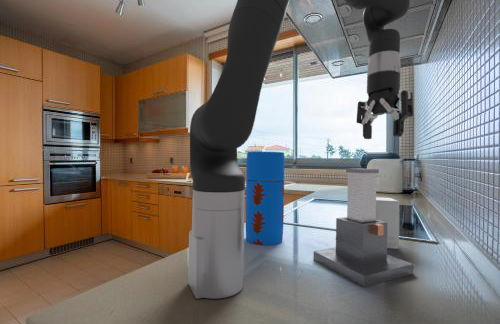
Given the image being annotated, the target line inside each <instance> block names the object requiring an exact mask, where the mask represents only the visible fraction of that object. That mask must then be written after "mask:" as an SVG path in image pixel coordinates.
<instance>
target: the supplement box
mask: <svg viewBox="0 0 500 324" xmlns="http://www.w3.org/2000/svg"><path fill="white" fill-rule="evenodd" d="M400 204H401V203H400V200H396V199H394V198H391V197H377V196H376V220H379V221H384V222H388V223H387V249H395V250H399V249H400Z"/></svg>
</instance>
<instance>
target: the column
mask: <svg viewBox="0 0 500 324" xmlns="http://www.w3.org/2000/svg"><path fill="white" fill-rule="evenodd" d="M345 173H347V200H346V201H347V206H346V207H347V208H346V210H347V215H346V217H347V220H350V221H353V222H357V223H361V224H367V223H375V222H376V197H377V174H379V173H380V172H379V168H378V169H377V168H346V169H345Z"/></svg>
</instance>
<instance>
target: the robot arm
mask: <svg viewBox="0 0 500 324" xmlns="http://www.w3.org/2000/svg"><path fill="white" fill-rule="evenodd" d="M290 1H291V0H237V1H236V4H235V6H234V10H233V13H232V14H231V15H232V16H231V18H230V21H229V22H230V23H229V26H228V30H227V31H228V32H227V45H226V46H227V47H226V48H227V49H226V50H227V51H226V57H225V63H224V65H223V69H222V72H221V74H220V77H219V79H218V81H217V84H215V85H216V86H215V88H214V89H213V91H212V93H211V96H210V97H209V99H208V100H207V101H205V103H204V102H203V104H201V106H199V107H198V108H197V109H196V110H195V111H194V112H193V114H192V116H191V120H190V126H189V167H190V168H189V169H190V174H191V179H192V211H191V212H192V213H191V215H192V217H191V220H192V221H191V222H192V223H191V230H188V231H189V232H188V269H187V272H188V274H187V275H188V277H187V283H188V285H189V287H190V289H191V291H192V293H193V295H194V297H195V299H203V298H204V299H214V300H215V299H225V298H229V297H233V296H235V295H236V294H238V293H239V292H241V291H242V289H244V288H243V287H244V276H245V271H244V267H245V265H244V259H245V258H244V256H245V255H244V254H245V206H246V175H245V174H244V173H243V170H241V168H240V165H239V163H238V148H240V147H242V146H243V145H244V144H245V143H246V142H247V141H248V140H249V138H250V136H251V134H252V132H253V129H254V125H255V121H256V115H257V110H258V105H259V101H260V96H261V91H262V87H263V83H264V79H265V77H266V73H267V71H268V68H269V65H270V62H271V60H272V56H273V53H274V49H275V47H276V44H277V41H278V39H279V37H280V33H281V30H282V26H283V24H284V21H285V18H286V15H287V14H286V13H287V10H288V6H289V4H290ZM343 1H344V2H345V3H346V4H348V5H349V6H351V8H353V9H356V10H358V11H360V10H363V12H362V13H363V14H362V22H363V26H364V29H365V33H366V36H367V37H366V38H367V41H368V62H367V68H366V69H367V70H366V71H367V72H366V78H367V79H366V93H367V96H368V98H367V100H366V101H360V100H359V101H358V102H357V111H356V123H357V124H361V125H362V137H363V139H364V140H371V139H373V138H372V137H373V136H372V135H373V125H372V124H373V123H374V121H375V119H377V118H378V116H382V115H384V114H387V115H388V114H389V115H391V116H392V118H393V119H394V120H393V125H392V126H393V129H392V130H393V132H392V135H393V137H394V138H395V137H396V138H399V137H402V136H403V134H404V133H405V120H406V119H408V118H412V117H413V116H414V98H413V91H408V90H401V69H402V67H401V65H402V64H401V63H402V62H401V56H400V54H401V53H400V51H401V35H400V32H399V31H398V30H397V29H395V28H386V29H384V28H385V26H387V25H389V24H391V23H393V22H395V21H397V20H399V19H401V18H402V17H403V16H405V15H406V14H407V12H408V10H409V9H410V5H411V1H410V0H343ZM400 90H401V92H400ZM399 101H400V105H401V107H400V106H399V105H398V103H399Z"/></svg>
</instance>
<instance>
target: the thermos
mask: <svg viewBox="0 0 500 324" xmlns="http://www.w3.org/2000/svg"><path fill="white" fill-rule="evenodd" d="M245 170H246V175H245V239H246V242H248V243H250V244H253V245H257V246H258V245H259V246H276V245H279V244H281V243H282V242H283V239H284V237H283V236H284V221H285V220H284V217H285V215H284V212H285V209H284V208H285V207H284V205H285V153H284V152H280V151H247V153H246V169H245Z"/></svg>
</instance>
